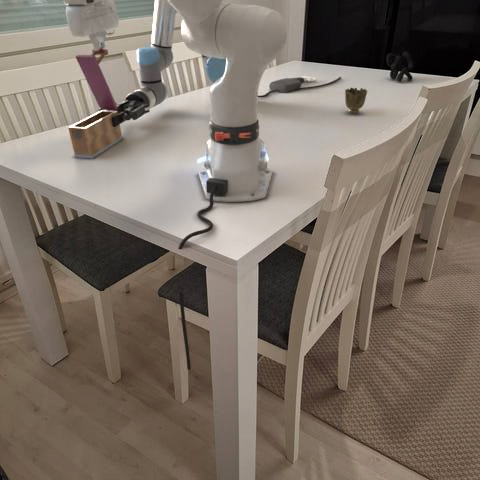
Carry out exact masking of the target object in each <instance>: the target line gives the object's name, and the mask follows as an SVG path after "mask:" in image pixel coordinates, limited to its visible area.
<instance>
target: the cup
mask: <svg viewBox="0 0 480 480" xmlns="http://www.w3.org/2000/svg"><path fill="white" fill-rule="evenodd" d="M367 94H368V90H367V88H363V87H361V88H360V89H358V88H357V87H355V88H354V87H350V88H346V89H345V90H344V95H345V96H344V97H345V99H344V100H345V101H344V102H345V105H346V108H347V109H348V113H349V114H352V115H356V114H359V113H360V109H362V107H364V105H365V102H366V99H367V98H366V97H367Z"/></svg>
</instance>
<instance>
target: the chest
mask: <svg viewBox="0 0 480 480" xmlns="http://www.w3.org/2000/svg"><path fill="white" fill-rule="evenodd" d="M116 115H118V111H105V110H101V111H99V110H98V112H95V113H93V114H91V115H90V116H87V117H86V118H84V119H81V120H80V121H78V122H75V123H74V124H72V125H70V126H68V127H67V128H68V133H69V137H70V141H71V146H72V151H73V155H74V158H80V159H91V160H92V159H94V158H96V157H97V156H98V155H100V154H102V153H104V152H105V151H106V150H108V149H110V148H111V147H112V146H114V145H115V144H117V143H118V142H120V141H122V140H123V135H122V130H121V124H119V125H118V126H116V127H113V124H112V117H114V116H116Z"/></svg>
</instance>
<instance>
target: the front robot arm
mask: <svg viewBox="0 0 480 480" xmlns="http://www.w3.org/2000/svg"><path fill="white" fill-rule="evenodd" d="M167 1H168V2H169V3H170V4H171V5H172V6H173V7H174V9H175V10H176V13H178V15H179V16H180V17H181V24H180V33H181V38H182V41H183V43H184V45H185V46H186V47H187V48H188V49H189V50H190V51H192V52H195V53H197V54H199V55H201V56H202V55H204V56H207V57H215V58H222V59H226V69H225V73H224V75H223V77H221V78H219V79H218V80H217V81H215V82H214V83H213V82H212V84H211V86H210V88H209V102H210V103H209V105H210V106H209V107H210V120H209V126H208V129H209V139H208V140H207V141H206V142H205V143H204V144H205V145H204V148H205V149H204V150H205V152H204V153H205V156H202V157H200V158H198V159H197V160H196V163H197V164H200V163H203V162H204V164H203V165H204V168H203V169H201V170H199V171H198V178H199V181H200V185H201V187H202V190H203V193H204V196H205V199H206V200H209V205H208V206H207V207H205V208H202V209H200V210H198V211H197V217H198V219H200V220H201V221H203V222H205V223H207V224H208V227H206V228H204V229H199V230H196V231H193V232H191V233H189V234H187V235H186V236H185V237H184V238H183V239H182V240H181V241H180V243H179V244H178V245H179V246H178V250H182V249H183V248H184V246H185V244H186V243H187V242H188V241H189V240H190V239H191V238H193V237H196V236H199V235H203V234H206V233H209V232H210V231H211V230H212V229H213V227H214V223H213V222H212V221H211V220H210V219H208V218H206V217H205V216H203V215H202V214H203V213H207V212H208V211H210V210H212V209H213V206H214V202H222V203H223V202H225V203H240V202H253V201H257V200H261V199H264V198H266V196H267V193H268V190H269V187H270V186H269V185H270V183H271V180H272V177H273V170H272V169H271V168H269V167H268V161H269V156H268V154H267V151H266V149H265V141H263V140H262V138H260V121H259V118H258V102H259V101H258V100H259V97H258V96H259V90H260V89H259V88H260V84H261V80H262V78H263V75H264V74H265V73H264V72H265V71H266V69H267V68H268V67H269V65H270V64H271V63H272V62H273V61H274V60H276V59H277V58H278V57H279V56H280V54H281V53H282V52H283V49H284V48H285V46H286V42H287V37H288V35H287V34H288V32H287V25H286V22H285V19H284V17H283V15H282V14H281V13H280V12H279V11H277V10H274V9H273V8H269V7H266V6H262V5H259V4H242V3H241V4H240V3H231V2H229V1H226V0H167ZM62 2H63V5H65V6H66V7H65V15H66V19H67V20H66V21H67V25H68V30H69V32H70V34H71V36H72V37H74V38H86V37H88V38H89V40H90V41H91V43H92V45H93V49H94V50H98V51H99V50H101V49H106V38H107V32H106V31H109V30H113V29H115V28H118V27H119V24H120V20H119V15H118V11H117V6H116V3H115V1H114V0H62ZM265 159H266V160H265ZM184 300H185V299H184V293H183V292H182V291H181V290H179V308H180V318H181V319H180V320H181V327H182V334H183V341H184V343H183V344H184V350H185V357H186V358H185V359H186V368H187V370H188V371H191V369H192V367H191V357H190V348H189V340H188V331H187V323H186V314H185V301H184Z"/></svg>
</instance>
